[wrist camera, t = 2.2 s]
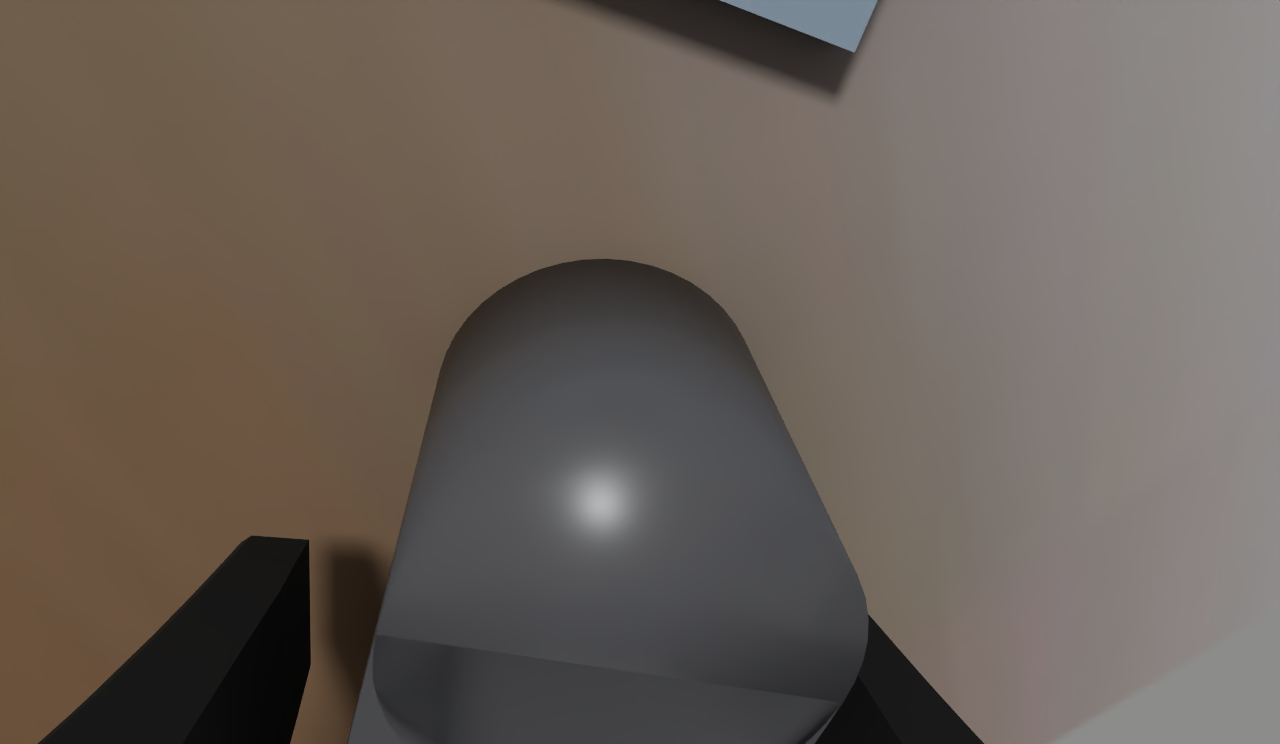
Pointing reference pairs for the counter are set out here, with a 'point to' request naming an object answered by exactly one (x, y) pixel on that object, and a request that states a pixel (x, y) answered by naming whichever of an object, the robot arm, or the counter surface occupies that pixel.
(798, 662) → the connector
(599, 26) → the counter surface
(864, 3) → the rubber mat
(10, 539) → the counter surface
